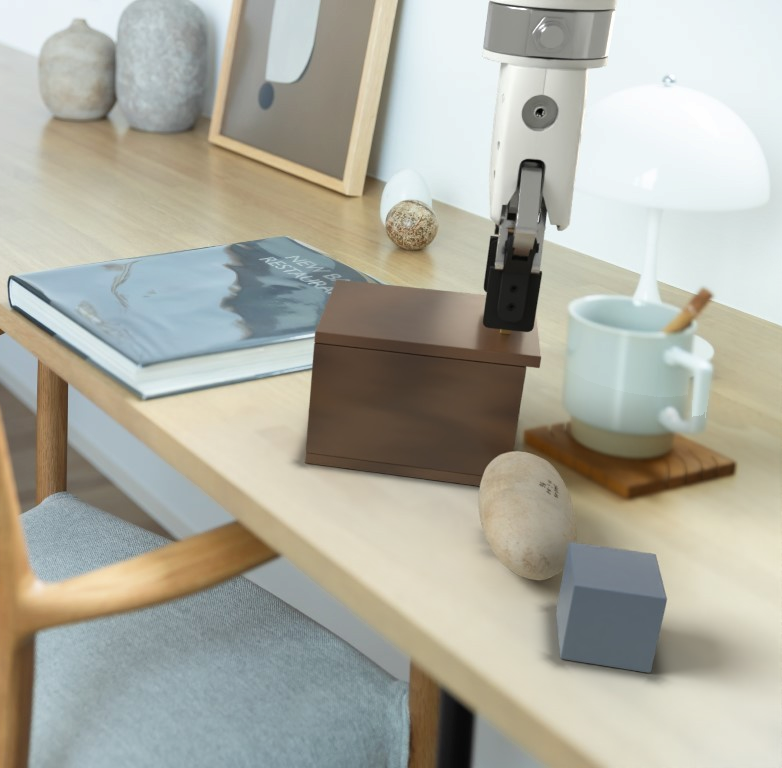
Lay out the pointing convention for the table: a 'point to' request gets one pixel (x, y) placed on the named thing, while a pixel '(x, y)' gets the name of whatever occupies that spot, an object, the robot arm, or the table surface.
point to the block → (610, 607)
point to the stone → (526, 514)
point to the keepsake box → (411, 413)
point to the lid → (421, 324)
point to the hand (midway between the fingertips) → (507, 308)
